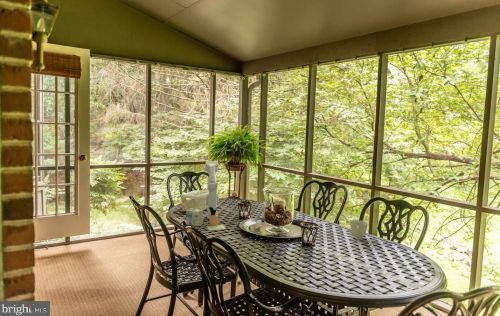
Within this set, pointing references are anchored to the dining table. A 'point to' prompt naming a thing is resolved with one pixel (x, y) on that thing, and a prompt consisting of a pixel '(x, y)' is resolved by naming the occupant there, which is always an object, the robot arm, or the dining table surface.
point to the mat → (215, 227)
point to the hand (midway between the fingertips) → (213, 217)
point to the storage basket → (194, 200)
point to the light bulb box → (194, 217)
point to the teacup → (358, 228)
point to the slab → (213, 220)
